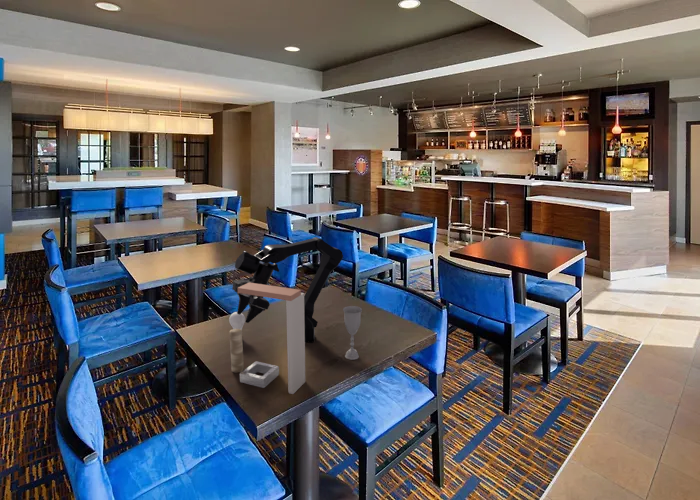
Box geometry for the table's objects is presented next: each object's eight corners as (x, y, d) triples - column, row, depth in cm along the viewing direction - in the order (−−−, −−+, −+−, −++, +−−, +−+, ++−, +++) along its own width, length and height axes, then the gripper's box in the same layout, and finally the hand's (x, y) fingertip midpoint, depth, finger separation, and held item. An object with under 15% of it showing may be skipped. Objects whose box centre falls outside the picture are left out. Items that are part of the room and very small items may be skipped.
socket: (256, 369, 146) (255, 361, 145) (279, 374, 143) (278, 366, 142) (240, 382, 138) (239, 373, 137) (263, 387, 135) (263, 379, 134)
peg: (244, 366, 148) (243, 328, 145) (242, 372, 144) (240, 333, 141) (233, 366, 148) (231, 328, 145) (230, 372, 144) (227, 333, 141)
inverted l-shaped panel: (256, 370, 145) (252, 280, 138) (305, 381, 139) (304, 288, 132) (242, 381, 138) (237, 287, 131) (292, 394, 131) (290, 295, 124)
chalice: (342, 352, 159) (342, 306, 155) (360, 351, 160) (361, 305, 156) (343, 361, 152) (343, 313, 148) (362, 360, 153) (363, 313, 149)
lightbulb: (242, 342, 166) (240, 315, 164) (227, 341, 168) (225, 314, 165) (248, 336, 172) (247, 310, 170) (234, 334, 173) (233, 309, 171)
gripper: (233, 264, 158) (214, 303, 157) (250, 277, 142) (229, 320, 141) (259, 274, 164) (241, 312, 163) (278, 288, 148) (259, 329, 148)
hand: (242, 318), depth 154 cm, fingers open, 9 cm apart
